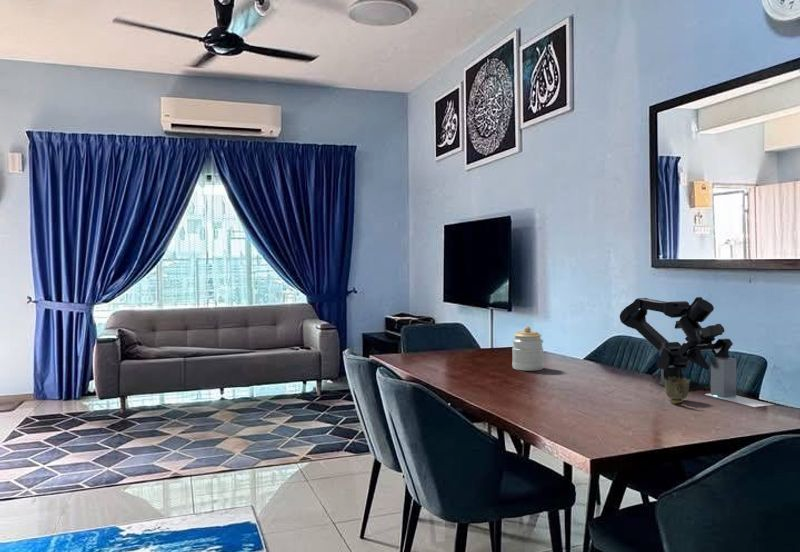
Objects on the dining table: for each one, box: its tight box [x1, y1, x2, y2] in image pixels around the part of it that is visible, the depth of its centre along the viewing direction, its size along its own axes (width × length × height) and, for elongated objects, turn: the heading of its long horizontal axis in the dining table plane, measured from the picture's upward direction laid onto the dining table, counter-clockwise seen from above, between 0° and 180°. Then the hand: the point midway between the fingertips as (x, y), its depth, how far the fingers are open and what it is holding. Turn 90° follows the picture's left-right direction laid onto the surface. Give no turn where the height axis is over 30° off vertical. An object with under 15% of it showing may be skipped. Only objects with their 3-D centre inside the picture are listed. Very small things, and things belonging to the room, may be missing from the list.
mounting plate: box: [704, 393, 775, 408], centre depth 194 cm, size 19×8×1 cm, turn 19°
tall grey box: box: [710, 356, 737, 397], centre depth 199 cm, size 5×5×12 cm
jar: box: [511, 326, 544, 372], centre depth 259 cm, size 13×13×18 cm
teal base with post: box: [710, 393, 737, 399], centre depth 200 cm, size 7×7×4 cm
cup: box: [664, 376, 691, 406], centre depth 193 cm, size 8×7×8 cm
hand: (719, 368), depth 201 cm, fingers open, 9 cm apart
